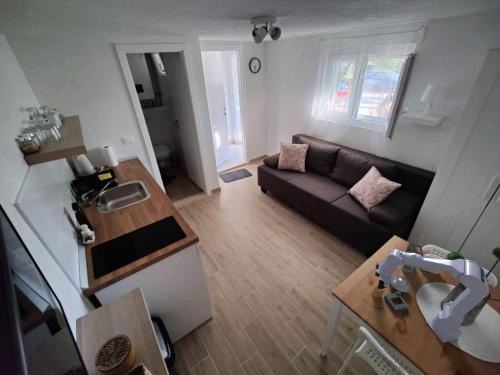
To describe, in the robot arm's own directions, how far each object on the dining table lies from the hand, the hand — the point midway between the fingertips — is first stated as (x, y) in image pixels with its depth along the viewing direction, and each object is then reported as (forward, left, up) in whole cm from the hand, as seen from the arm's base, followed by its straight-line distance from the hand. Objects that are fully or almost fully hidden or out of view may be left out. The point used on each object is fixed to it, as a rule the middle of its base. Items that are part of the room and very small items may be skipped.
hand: (378, 282), depth 116 cm
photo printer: (+7, -42, -11) cm, 44 cm away
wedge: (-2, -1, -10) cm, 11 cm away
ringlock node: (-3, -12, -10) cm, 16 cm away
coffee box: (+12, -31, -11) cm, 35 cm away
